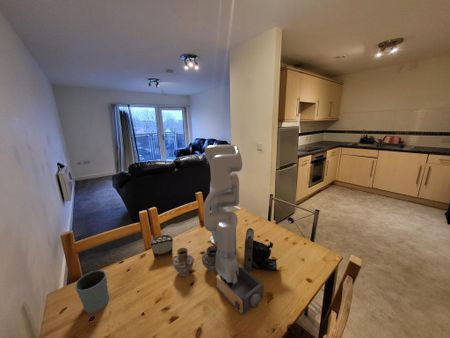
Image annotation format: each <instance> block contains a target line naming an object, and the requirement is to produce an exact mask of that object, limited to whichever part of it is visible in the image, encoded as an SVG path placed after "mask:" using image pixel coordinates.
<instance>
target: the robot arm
mask: <svg viewBox="0 0 450 338" xmlns="http://www.w3.org/2000/svg"><path fill="white" fill-rule="evenodd" d="M204 155H205V158H206V160H207V162H208V164H209V169H210V184H211V188H212V189H211V191H210V192H209V193H208V195H207V197H206V198H205V200H204V203H203V225H204V228H205V230H207V231H208V232H210V233H211V236H210V243H212V245H213V246H217V252H216V261H215V267H216V271H217V272H216V273H218V274H220V275H221V276H222V279H223V280H224V282H225V283H226V284H227V285H228V286H229V287H230V288H231V287H232V283H234V284H236V283H237V278H238V276H239V267H238V264H239V260H238V255H237V226H238V220H239V219H238V216H237V214H236V213H235V212H234V211H227V210H226V208H229V207H231V208H233V207H237V206H238V205H239V204H240V179H239V175H238V174H237V172H241V171H242V169H243V160H242V155H241V152H240V150H239V147H238V146H237V145H236V144H213V145H208V146H206V147H205V148H204Z"/></svg>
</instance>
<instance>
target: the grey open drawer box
mask: <svg viewBox="0 0 450 338" xmlns="http://www.w3.org/2000/svg"><path fill="white" fill-rule="evenodd" d="M238 267H239V276H238V278H237V283H236V284H234V283H232V287H231V289H232V290H233V291H234V293H235V294H236V295H237V296H238V297H239V298H240V299H241V300H242V301H243V312H242V313H240V312H239V311H238V310H237V312H238V313H239V314H240V315H241V316H243V315H244V314H245V313H246V312H247V313H248V311H249V310H250V309H252V308H257V307H258V306H259V304H260V303H261V300H262V299H263V298H264V283H262V281H260V280H259V279H257V278H256V277H255V276H254V275H253V274H252V273H249V272H248V271H246V270H245V269H244V266H243V264H242V263H238ZM217 276H219V277H220V278H221V279H222V276H221V275H220V274H219V273H218V274H217ZM222 280H223V279H222ZM223 281H224V280H223ZM216 290H218V291H219V293H220V294H221V295H223V296H224V298H225V299H226V300H227V301H228V302H229V303H230V304H231V305H232V306H233V307H234V308H235V306H234V305H233V304H232V303H231V301H230V300H229V299H228V298H227V297H226V296H225V295H224V293H223V292H222V291H221V290H220V289H219V288H218V287H217V286H216Z"/></svg>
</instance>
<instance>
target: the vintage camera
mask: <svg viewBox="0 0 450 338" xmlns="http://www.w3.org/2000/svg"><path fill="white" fill-rule="evenodd" d="M245 232H246V234H245V240H244V252H243V253H244V255H243V268H244V269H245V270H246V271H248V272H249V273H250V274H252V270H257V271H263V272H264V271H265V272H274V273H277V272H278V267H277V265H278V264H277V258H270V257H271V255H272V249H273V247H274V243H273V242H272V241H269V244H268V245H267V244H266V243H263V242H260V241H258V240H254V237H255V236H254V235H255V231H254V229H253V228H251V227H250V228H247V229H246V231H245Z"/></svg>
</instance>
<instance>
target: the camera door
mask: <svg viewBox="0 0 450 338" xmlns="http://www.w3.org/2000/svg"><path fill="white" fill-rule="evenodd" d="M217 287H218V288H219V289H220V290H221V291H222V292H223V293H224V295H225V296H226V297H227V298H228V299H229V300H230V301H231V303H232V304H233V305H234V306H235V307H234V306H233V305H232V304H231V303H230V304H231V305H232V306H233V307H234V309H236V310H237V312H238V311H239V312H240V313H242V312H243V301H242V300H241V299H240V298H239V297H238V296H237V295H236V294H235V293H234V291H233V290H232V289H231V288H230V287H229V286H228V285H227V284H226V283H225V282H224V281H223V280H222V279H221V278H220V277H219V276H218V275H216V288H217ZM224 295H223V296H224ZM225 296H224V297H225ZM239 312H238V313H239ZM240 313H239V314H240Z"/></svg>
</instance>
